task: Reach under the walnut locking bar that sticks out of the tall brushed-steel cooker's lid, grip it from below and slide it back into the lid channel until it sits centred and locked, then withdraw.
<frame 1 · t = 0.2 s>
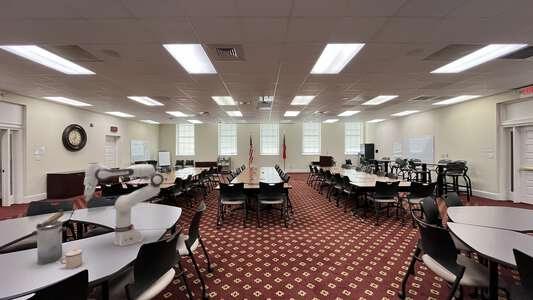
hand: (88, 199, 186), 39 cm above the table, tool pointing down, fingers open, 8 cm apart
teacup with lid: (71, 266, 158), on the table
cooker: (50, 260, 166), on the table
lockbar: (54, 217, 175), point 28 cm above the table, slide at 10.0 cm
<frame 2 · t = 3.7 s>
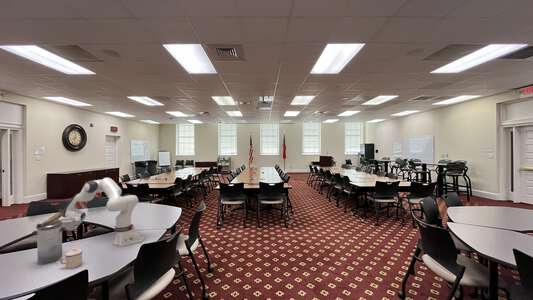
hand: (63, 219, 193), 21 cm above the table, tool pointing upward, fingers open, 8 cm apart
nothing on the table moved.
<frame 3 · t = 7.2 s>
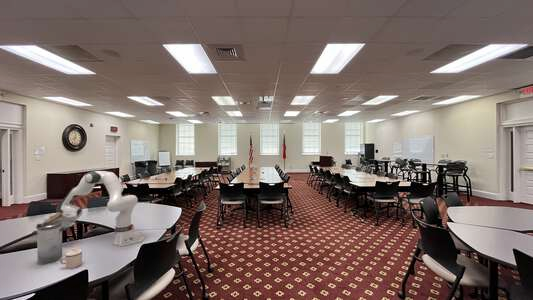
hand: (58, 214, 182), 28 cm above the table, tool pointing upward, fingers closed on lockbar, 3 cm apart
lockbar: (54, 217, 175), point 28 cm above the table, slide at 10.0 cm, touching gripper
everything else where it was.
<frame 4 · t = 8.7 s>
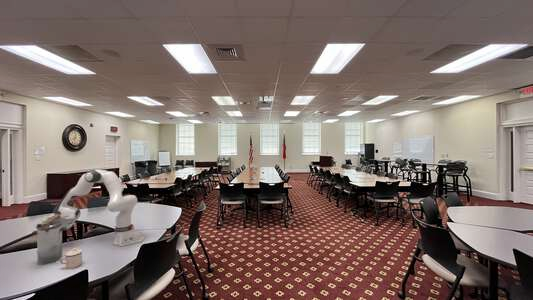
hand: (56, 216, 178), 28 cm above the table, tool pointing upward, fingers closed on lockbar, 3 cm apart
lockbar: (52, 218, 170), point 28 cm above the table, slide at 5.1 cm, touching gripper
everything else where it was.
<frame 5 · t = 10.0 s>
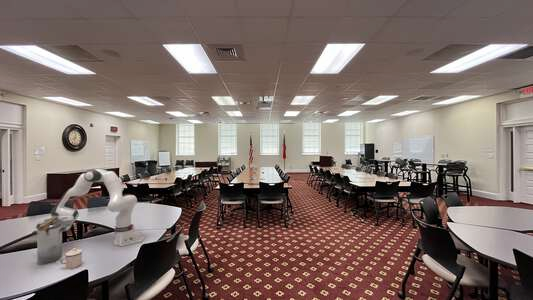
hand: (54, 218, 173), 28 cm above the table, tool pointing upward, fingers closed on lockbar, 3 cm apart
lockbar: (49, 220, 166), point 28 cm above the table, slide at 0.2 cm, touching gripper
everything else where it was.
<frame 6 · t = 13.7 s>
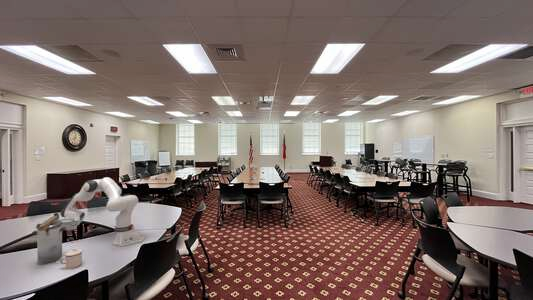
hand: (62, 218, 192), 21 cm above the table, tool pointing upward, fingers open, 8 cm apart
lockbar: (49, 220, 166), point 28 cm above the table, slide at 0.2 cm
everything else where it was.
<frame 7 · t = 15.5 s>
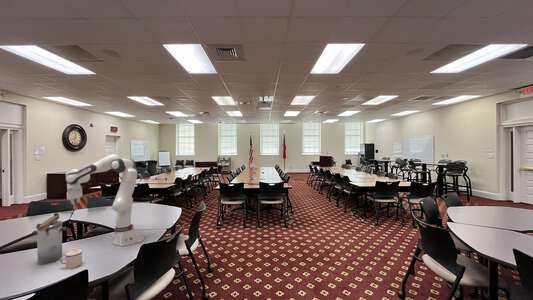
hand: (75, 203, 202), 32 cm above the table, tool pointing down, fingers open, 8 cm apart
nothing on the table moved.
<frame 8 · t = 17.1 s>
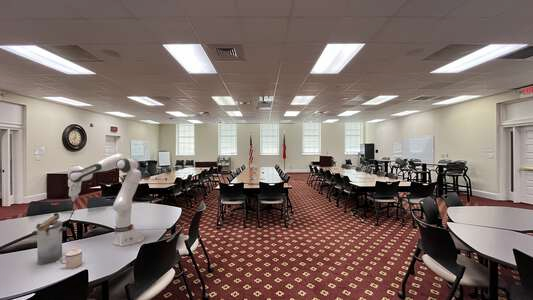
hand: (74, 199, 201), 35 cm above the table, tool pointing down, fingers open, 8 cm apart
nothing on the table moved.
at the end: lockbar slide at 0.2 cm; the gripper is holding nothing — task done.
